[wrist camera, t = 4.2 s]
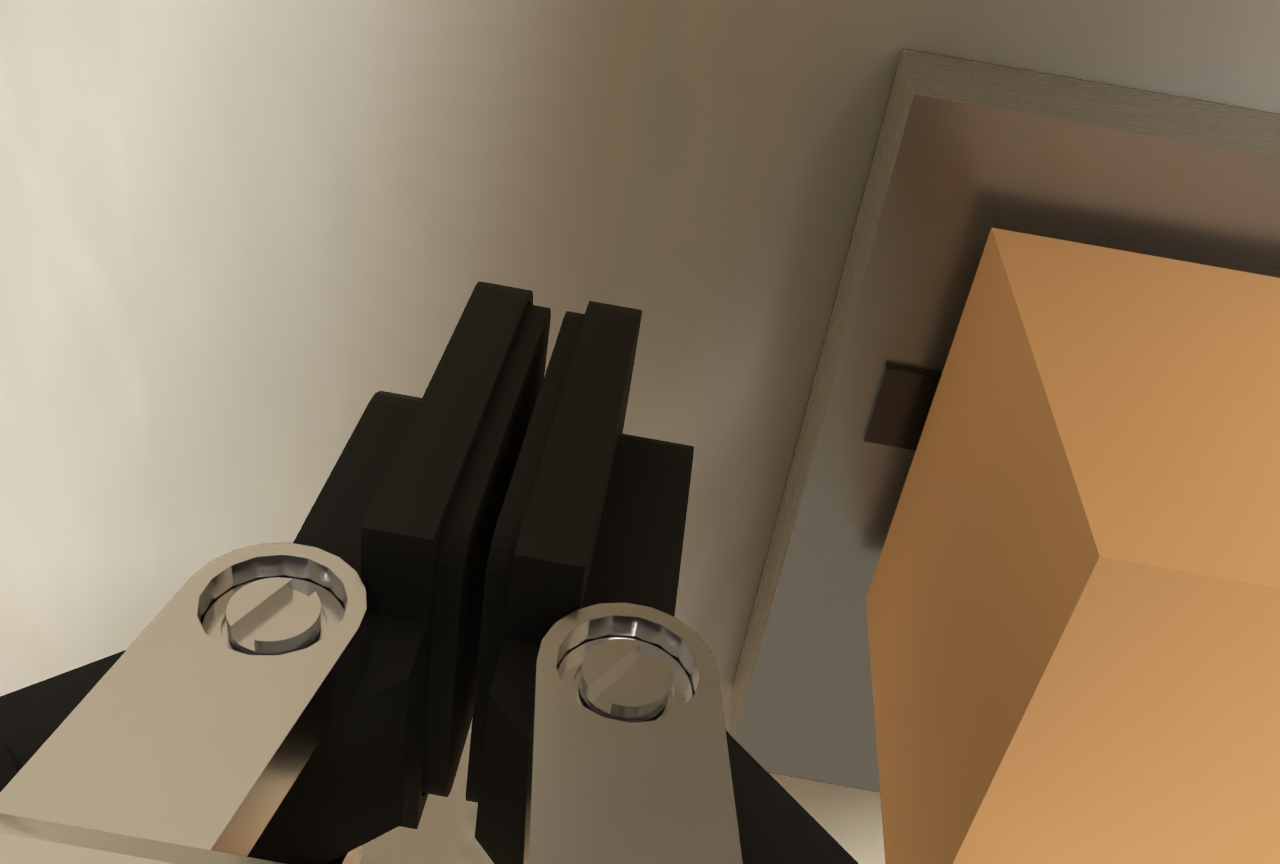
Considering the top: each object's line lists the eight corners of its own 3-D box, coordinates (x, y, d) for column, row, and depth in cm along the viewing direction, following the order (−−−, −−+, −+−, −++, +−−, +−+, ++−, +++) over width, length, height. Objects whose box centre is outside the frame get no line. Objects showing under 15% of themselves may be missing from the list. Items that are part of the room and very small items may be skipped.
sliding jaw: (1393, 297, 12) (1721, 666, 8) (1114, 787, 16) (1225, 1192, 12) (992, 227, 12) (1100, 557, 8) (819, 734, 16) (829, 1120, 12)
